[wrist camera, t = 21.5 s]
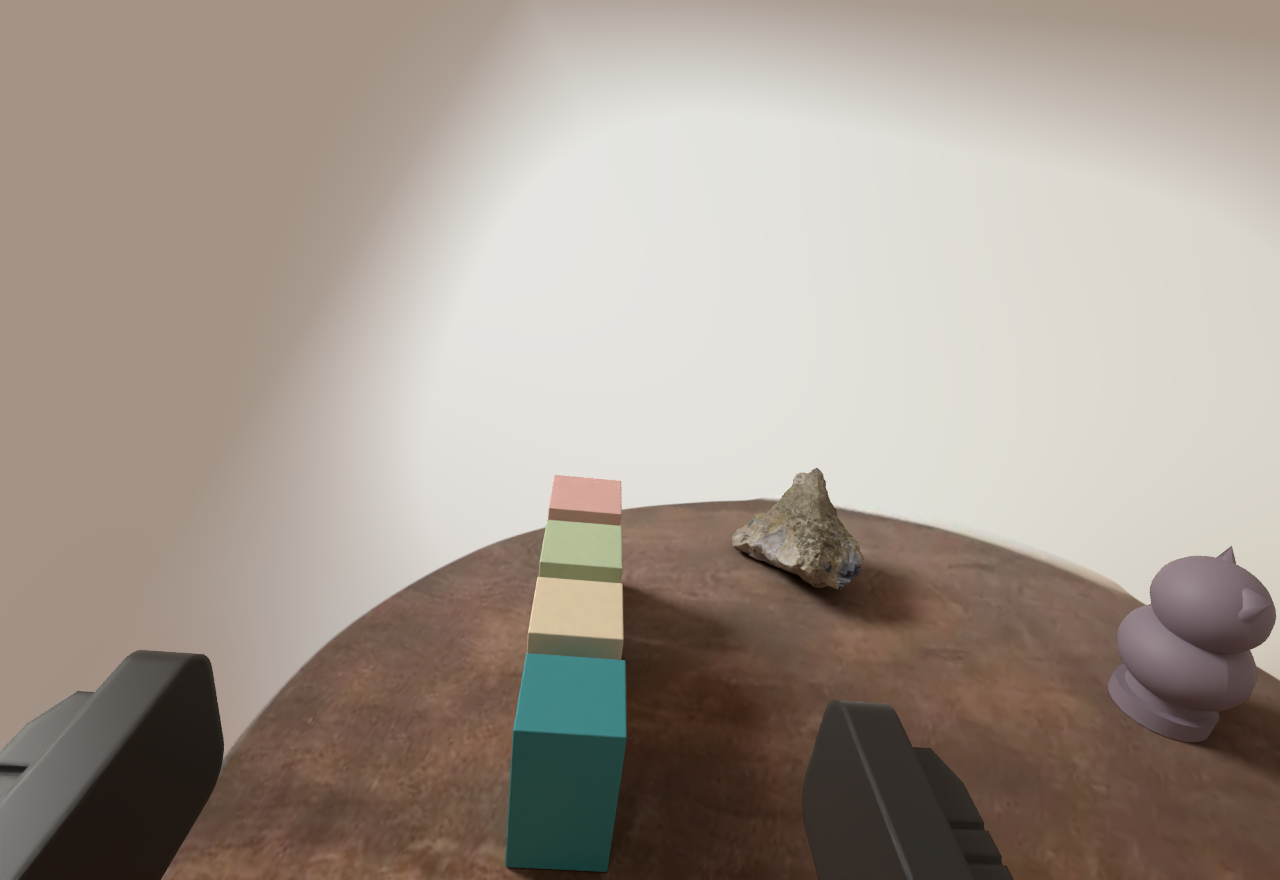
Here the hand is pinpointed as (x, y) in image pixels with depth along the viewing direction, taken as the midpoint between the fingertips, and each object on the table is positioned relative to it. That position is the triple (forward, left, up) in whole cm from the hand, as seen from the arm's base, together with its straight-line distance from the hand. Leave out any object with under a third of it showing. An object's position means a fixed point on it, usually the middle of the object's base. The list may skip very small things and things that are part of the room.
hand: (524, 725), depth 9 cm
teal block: (+9, +17, -26) cm, 32 cm away
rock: (+36, +32, -27) cm, 55 cm away
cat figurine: (+52, +10, -27) cm, 59 cm away
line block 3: (+12, +22, -26) cm, 37 cm away
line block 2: (+14, +28, -26) cm, 41 cm away
